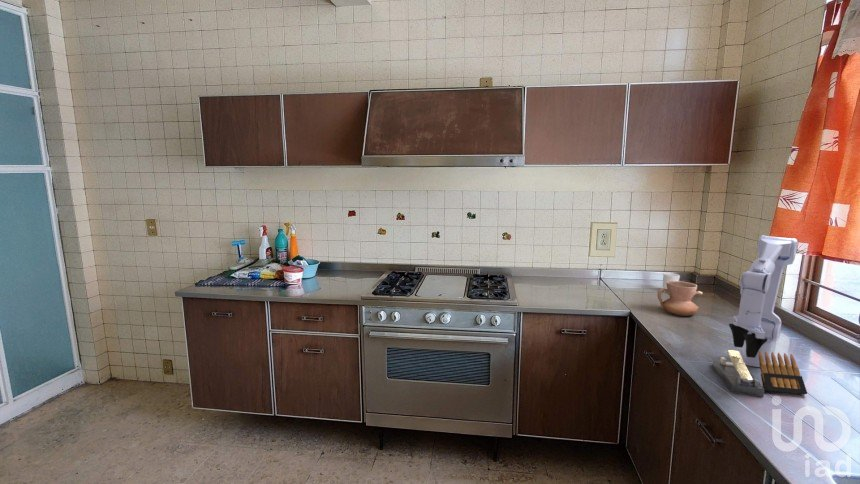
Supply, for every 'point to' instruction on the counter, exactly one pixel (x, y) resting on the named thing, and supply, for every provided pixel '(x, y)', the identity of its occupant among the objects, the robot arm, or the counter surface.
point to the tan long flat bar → (740, 366)
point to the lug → (723, 362)
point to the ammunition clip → (781, 375)
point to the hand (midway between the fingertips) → (744, 351)
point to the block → (737, 380)
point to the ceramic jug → (679, 298)
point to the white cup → (669, 278)
